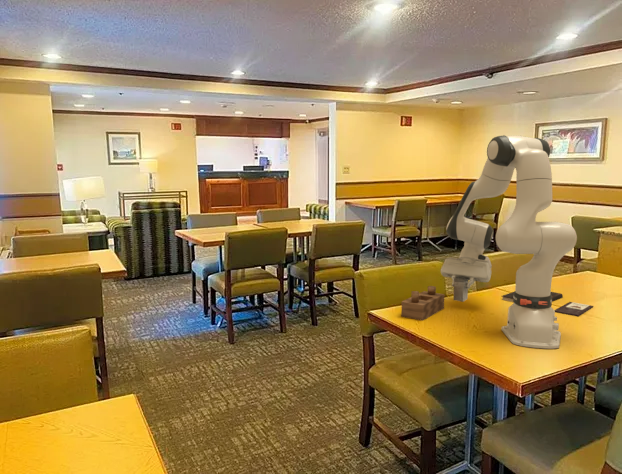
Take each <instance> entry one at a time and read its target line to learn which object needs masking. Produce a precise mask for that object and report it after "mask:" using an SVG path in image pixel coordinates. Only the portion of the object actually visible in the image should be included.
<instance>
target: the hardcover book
mask: <svg viewBox="0 0 622 474" xmlns="http://www.w3.org/2000/svg"><path fill="white" fill-rule="evenodd" d="M550 294H551V295H552V303H553V302H556V301H557V300H560V299H563V298H564V295H563V293H559V292H554V291H551V292H550ZM513 295H514V291H512V292H509V293H506V294H503V295H501V297H502V300H503V301H507V302H510V303H514V301H513Z"/></svg>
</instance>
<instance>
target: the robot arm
mask: <svg viewBox="0 0 622 474" xmlns="http://www.w3.org/2000/svg"><path fill="white" fill-rule="evenodd" d="M550 154H551V148H550V144H549V143H548V141H547V140H545V139H542V138H539V137H530V136H522V135H505V134H503V135H498V136H494V137H493V138H492V139H491V140H490V141H489V143H488V145H487V149H486V157H487V159H486V161H485V163H484V166H483V168H482V171H481V174H480V176H479V178H477V179H476V180H475V181H471V183H470V184H469V185H468V187H467V188H466V190H465V192H464V193H463V195H462V197H461V199H460V201H459V203H458V205H457V207H456V209H455V211H454V213H453V214H452V216H451V217H450V219H449V221H448V223H447V224H446V228H445V230H446V231H445V232H446V235H448V237H449V238H450V239H453V240H456V241H457V240H458V241H463V242H464V243H463V245H464V246H463V247H462V249H461V251H460V254H459V256H458V257H452V256H451V257H450V256H449V257H447V258H445V259H444V262H443V264H442V266H441V268H440V274H441V276H443V277H445V278H450V279H452V280H451V281H452V283H451V286H452V287H454V279H455V278H457V277H466V278H469V280H468V283H466V285H465V288H467V289H468V290H469V289H470V288H471V286H472V285H473V284H474V283H475V282H479V283H480V282H481V283H489V282H490V280H491V276H492V266H493V265H492V262H491V260H490V257H489V256H487V255H484V254H483V253H484V251H485V250H486V249H487V248H489V247H490V245H491V241H492V239H493V236H494V233H495V231H494V229H493V227H492V225H491V224H489V223H486V222H483V221H478V220H475V219H472V218H468V217H465V214H466V212H467V210H468V209H469V207H470V205H471V203H472V202H474V201H475V200H480V199H488V198H489V199H490V198H491V199H492V198H496V197H499V196H501V195H504V193H505V192H507V190H508V188H509V186H510V184H511V181H512V177H513V175H514V172H515V170H516V183H515V184H516V197H515V198H516V200H515V205H514V209H513V211H512V213H511V214H510V217H509V218H508V219H507V220H506V221H505V222H504V223H502V224H501V225H500V226H499V227H498V228H497V230H496V233H495V243H496V245H497V247H498V248H499V250H501V251H502V252H503V253H510V254H515V255H533V256H532V258H531V260H529V261H528V262H527V263H524V264H522V265H521V266H519V267H518V268H517V270H516V273H515V288H514V291H513V292H514V295H513V301H514V302H512V304H511V305H510V306H508V311H507V324H506V325H503V326H501V331H502V332H503V334H504V335H505V336H506V338H507V339H508V340H509V341H510V342H511V344H512V345H517V346H521V347H525V348H534V349H546V350H547V349H551V350H553V349H559V348H560V343H561V336H562V333H561V332H562V331H560V330H559V326H560V325H559V322H556V321H558V317H557V316H556V312H555V310H556V309H554V308H552V303H553V302H552V295H551V294H550V292H552V291H551V290H552V289H551V288H552V281H553V275H554V270H555V268H556V267H557V264H558V263H559V262H560V260H562V258H564V256H565V255H566V254H568V253H569V252H571V251H572V250H573V249H574V248H575V246H576V244H577V242H578V241H577V240H578V236H577V232H576V230H575V228H574V227H573V226H572V225H571V224H570V223H564V222H559V221H536V218H537V215H538V213H540V212H543V211H544V210H547V209H548V208H549V207H550V206H551V205H552V204H553V203H552V202H553V177H552V176H553V173H552V167H551V162H550V156H551V155H550Z"/></svg>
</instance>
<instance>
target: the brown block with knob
mask: <svg viewBox="0 0 622 474" xmlns="http://www.w3.org/2000/svg"><path fill="white" fill-rule="evenodd" d="M436 287H437V286H434V285H429V286H427V291H425V290H423V291H422V292H419V291H417V290H415V291H411V297H408V298H406V299H404V300H402V301H401V317H402V318H408V319H413V320H417V321H425V320H427V319H428V318H430V317H431V316H433V315H436V314H438V312H441V311H443V310H444V309H445V294H444V293H438V292H437V288H436Z"/></svg>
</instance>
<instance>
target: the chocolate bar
mask: <svg viewBox="0 0 622 474" xmlns="http://www.w3.org/2000/svg"><path fill="white" fill-rule="evenodd" d="M593 308H594V305H590V304H585V303H584V304H583V303H580V302H579V303H578V302H574V301H569V302H567V303H565V304H563V305H561V306H560V307H558V308H555V309H554V310H555V314H556V313H558V314H562V315H568V316H573V317H578V318H579V317H580V316H582V315H584V314H585V313H587V312H589V311H590V310H591V309H593Z"/></svg>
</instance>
